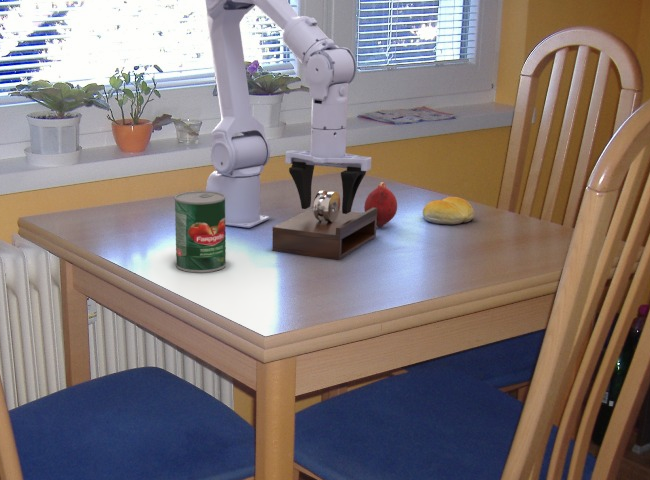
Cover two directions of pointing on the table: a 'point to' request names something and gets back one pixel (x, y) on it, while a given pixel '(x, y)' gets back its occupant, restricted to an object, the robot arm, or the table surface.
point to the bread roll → (448, 211)
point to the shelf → (325, 234)
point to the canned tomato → (200, 231)
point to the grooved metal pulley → (326, 206)
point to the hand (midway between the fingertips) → (326, 210)
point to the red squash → (382, 204)
